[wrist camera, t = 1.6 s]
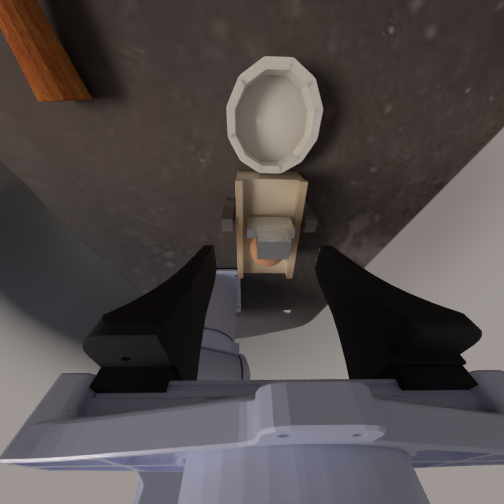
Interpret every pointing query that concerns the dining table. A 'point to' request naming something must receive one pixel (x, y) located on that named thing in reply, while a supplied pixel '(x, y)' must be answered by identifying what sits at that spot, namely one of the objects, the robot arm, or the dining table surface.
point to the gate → (271, 236)
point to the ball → (261, 261)
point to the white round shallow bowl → (274, 114)
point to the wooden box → (267, 214)
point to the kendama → (40, 52)
